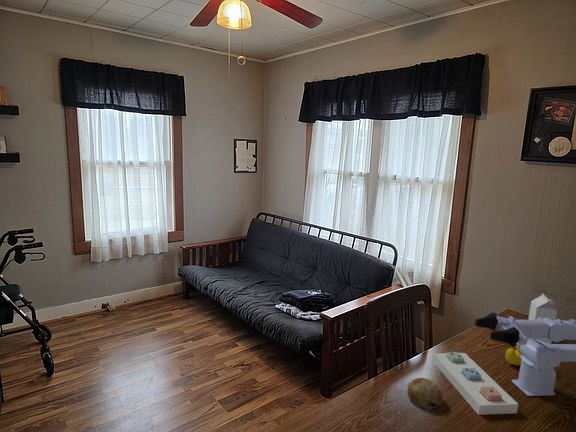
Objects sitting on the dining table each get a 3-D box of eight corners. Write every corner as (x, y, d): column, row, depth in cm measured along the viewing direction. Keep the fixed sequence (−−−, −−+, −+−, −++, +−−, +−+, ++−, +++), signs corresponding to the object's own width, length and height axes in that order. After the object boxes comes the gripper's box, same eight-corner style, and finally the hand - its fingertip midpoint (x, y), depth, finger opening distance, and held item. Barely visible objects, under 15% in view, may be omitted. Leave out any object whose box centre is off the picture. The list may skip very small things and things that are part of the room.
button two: (457, 358, 134) (457, 351, 134) (463, 364, 130) (464, 357, 130) (446, 358, 134) (447, 351, 134) (452, 364, 130) (453, 357, 130)
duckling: (523, 357, 140) (527, 332, 139) (536, 365, 135) (540, 339, 134) (499, 361, 137) (503, 336, 135) (512, 370, 132) (516, 343, 130)
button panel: (463, 360, 137) (464, 352, 137) (516, 413, 110) (518, 404, 109) (432, 361, 136) (433, 353, 135) (478, 414, 108) (479, 405, 108)
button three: (473, 374, 125) (474, 367, 124) (480, 381, 121) (481, 374, 120) (461, 374, 124) (462, 367, 124) (468, 382, 120) (469, 374, 120)
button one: (492, 393, 115) (493, 386, 114) (500, 402, 111) (501, 394, 110) (479, 394, 114) (481, 386, 114) (488, 402, 110) (489, 394, 110)
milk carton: (531, 342, 153) (538, 298, 149) (525, 334, 159) (532, 291, 156) (551, 345, 151) (558, 300, 147) (545, 337, 157) (552, 294, 154)
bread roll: (414, 418, 111) (423, 404, 107) (398, 386, 119) (406, 372, 115) (442, 413, 114) (452, 399, 109) (425, 382, 122) (434, 368, 117)
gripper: (510, 306, 124) (471, 306, 122) (543, 329, 110) (501, 329, 108) (506, 326, 125) (468, 325, 124) (538, 350, 111) (496, 351, 110)
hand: (483, 328), depth 116 cm, fingers open, 7 cm apart
